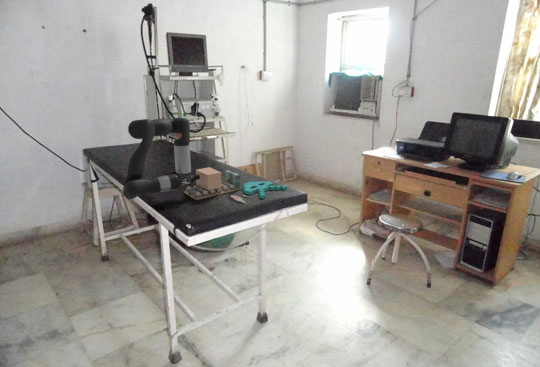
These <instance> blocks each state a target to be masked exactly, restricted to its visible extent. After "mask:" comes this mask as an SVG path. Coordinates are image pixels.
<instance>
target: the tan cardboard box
mask: <svg viewBox="0 0 540 367" xmlns="http://www.w3.org/2000/svg"><path fill="white" fill-rule="evenodd" d="M197 174H198V175H200V179H198V180H195V181H196V186H198V187H200V186H201V187H203V188H205V189H207V190H212V189H216V188H221V187H222V180H223V179H222V172H221V171H219V170H216V169H214V168H212V167H209V166H208V167H203V168H198V169H195V175H197Z"/></svg>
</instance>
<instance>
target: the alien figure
mask: <svg viewBox="0 0 540 367" xmlns="http://www.w3.org/2000/svg"><path fill="white" fill-rule="evenodd" d="M287 189H288V185H284V184H283V185H275V182H272V181H269V180H267V181H263V180H261V181H258V180H256V181H247V182H245V183H242V192H243V193H242V194H245V195H249V196H251V195H253V194H256V193H258V196H259V199H261V198H262V199H266V198H267V196H266V195H267V193H266V192H267V191H269V190H270V191H275V190H276V191H280V190H282V191H286V190H287ZM262 199H261V200H262Z"/></svg>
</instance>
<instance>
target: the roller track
mask: <svg viewBox="0 0 540 367" xmlns="http://www.w3.org/2000/svg"><path fill="white" fill-rule="evenodd" d="M221 180H222V187H221V188H216V189H212V190H207V189H205V188H203V187H201V186H199V185H197V184H195V185H193V186H192V187H191V186H186V187H185V190H184V191H183V192H184V194H186V195H187V196H189V197H190V198H192V199H194V200H196V201H199V200H203V199H207V198H212V197H215V196H220V195H224V194H228V193H233V192H236V191H240V190H243V187H241V174H239V173H237V172H234V171H231V170H228V169H225V170H224V180H223V179H221Z"/></svg>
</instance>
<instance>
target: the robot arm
mask: <svg viewBox="0 0 540 367" xmlns="http://www.w3.org/2000/svg"><path fill="white" fill-rule="evenodd" d="M190 127H191V126H190V120H189V119H188V118H186V117H173V118H169V119H167V118H155V119H150V118H145V119H144V118H143V119H134V120H132V121H131V122H130V123H129V124H128V128H127V129H128V130H127V131H128V133H129V135H130V137H132V138H133V139H135V140H141V142H140V143H139V145H138V147H137V148H136V149H135V151H134V152H133V153H132V155H131V157H130V159H129V162H128V166H127V173H126V178H125V181H124V183H123V187H122V188H123V189H122V193H123V196H124V197H125V198H126V199H128V200H135V199H136V198H137V197H138V196H140V195H142V194H143V195H144V194H148V195H151V194H156V193H157V194H158V193H163V192H168V191H174V190H177V189H179V186H184V185H187V186H190V185H192V184H193V183H194V182H195V181H196V180H198V179H200V175H198V174H197V175H196V174H193V175H192V174H190V173H191V172H192V162H191V151H190V150H191V149H190V148H191V147H190V146H191V145H190V141H191V136H190V134H191V132H190ZM172 133H173V134H179V135H180V134H181V137H179V138H177V139H176V138H175V139H174V140H173V151H174V165H175V166H174V168H175V173H176V174H175V173H171V174H165V175H160V176H158V177H152V178H148V179H145V178H144V179H142V178H143V176H144V174H145V165H146V161H147V157H148V154H149V151H150V148H151V146H152V143H153V140H154V137H165V136H168V135H170V134H172ZM189 174H190V175H189Z"/></svg>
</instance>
